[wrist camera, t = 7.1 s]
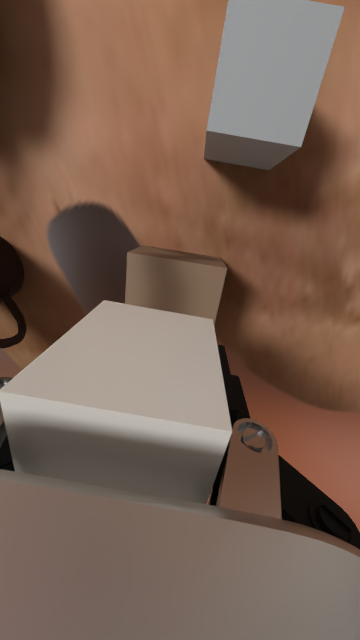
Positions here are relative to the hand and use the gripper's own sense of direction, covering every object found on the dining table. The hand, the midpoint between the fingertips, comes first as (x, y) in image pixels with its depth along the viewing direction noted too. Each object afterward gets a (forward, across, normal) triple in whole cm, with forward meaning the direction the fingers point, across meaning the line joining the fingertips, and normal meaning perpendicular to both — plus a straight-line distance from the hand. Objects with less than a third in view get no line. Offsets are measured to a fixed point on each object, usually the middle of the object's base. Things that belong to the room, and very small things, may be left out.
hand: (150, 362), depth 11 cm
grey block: (+12, -3, -13) cm, 18 cm away
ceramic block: (+1, 0, 0) cm, 1 cm away
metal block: (+12, 0, 0) cm, 12 cm away
